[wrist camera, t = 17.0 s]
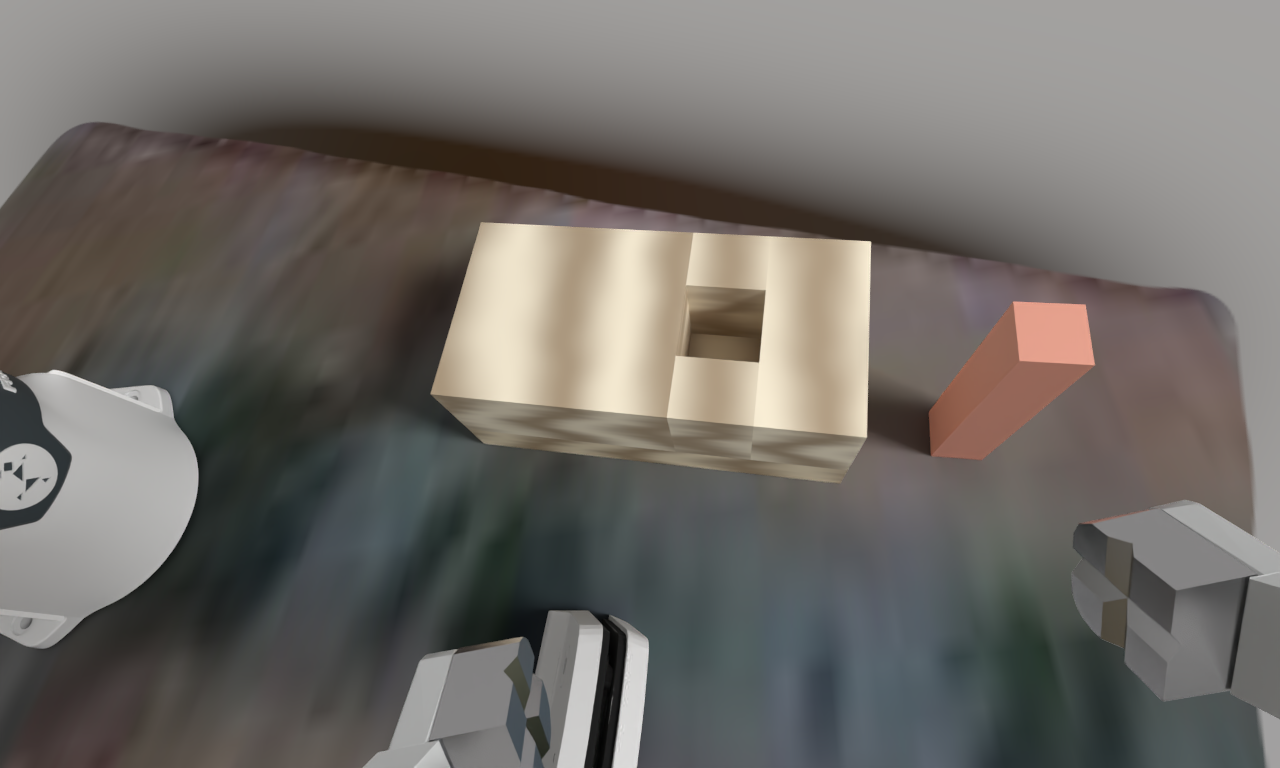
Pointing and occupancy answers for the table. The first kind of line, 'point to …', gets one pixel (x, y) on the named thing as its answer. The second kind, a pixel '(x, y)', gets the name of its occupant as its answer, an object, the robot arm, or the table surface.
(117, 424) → the robot arm
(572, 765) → the hinge
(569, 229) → the beige wooden block
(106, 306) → the table surface
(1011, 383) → the salmon pink square peg
